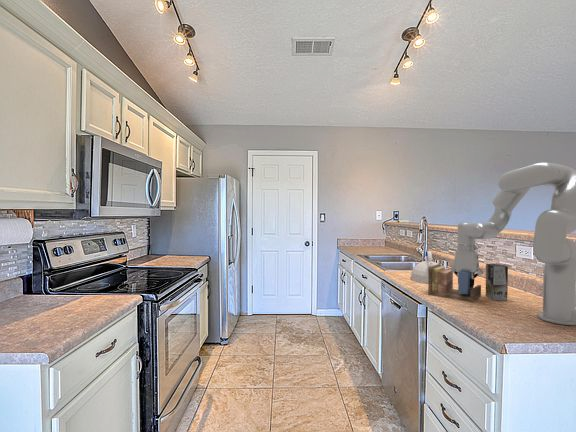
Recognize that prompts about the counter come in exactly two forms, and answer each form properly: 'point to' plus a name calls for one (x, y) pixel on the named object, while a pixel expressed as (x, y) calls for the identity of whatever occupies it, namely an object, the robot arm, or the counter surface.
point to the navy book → (464, 282)
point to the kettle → (422, 269)
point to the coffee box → (497, 281)
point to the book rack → (448, 285)
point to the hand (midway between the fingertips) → (465, 285)
